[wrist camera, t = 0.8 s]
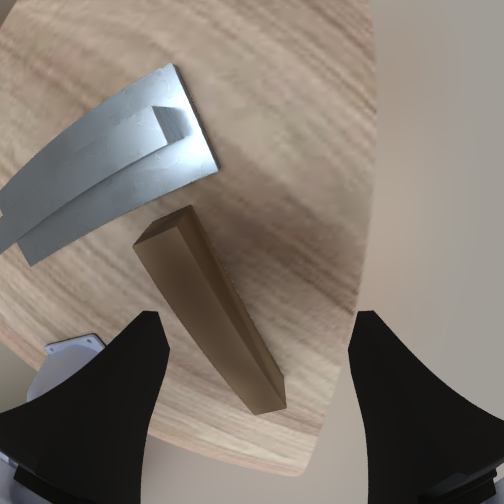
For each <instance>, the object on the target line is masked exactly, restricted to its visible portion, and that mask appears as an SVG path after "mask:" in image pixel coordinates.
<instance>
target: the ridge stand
mask: <svg viewBox="0 0 504 504" xmlns="http://www.w3.org/2000/svg"><path fill="white" fill-rule="evenodd" d="M220 168H221V167H220V165H219V162H218V160H217V158H216V155H215V153H214V151H213V148H212V146H211V144H210V141H209V139H208V137H207V134H206V132H205V130H204V127H203V125H202V123H201V120H200V118H199V116H198V113H197V111H196V109H195V106H194V104H193V102H192V100H191V97H190V95H189V93H188V90H187V88H186V86H185V83H184V81H183V79H182V76H181V74H180V72H179V70H178V67H177V66H176V65H174V64H173V63H170V64H168V65H166V66H164V67H162V68H160V69H158V70H157V71H155V72H153V73H151V74H149V75H147V76H145V77H144V78H142V79H140V80H138V81H136V82H135V83H133V84H131V85H130V86H128V87H126V88H125V89H123V90H121V91H120V92H118V93H116V94H115V95H113V96H112V97H110V98H109V99H107V100H106V101H104V102H103V103H101V104H100V105H98V106H97V107H95V108H94V109H92V110H91V111H90V112H88V113H87V114H85V115H84V116H83V117H81V118H80V119H79V120H77V121H76V122H75V123H73V124H72V125H71V126H69V127H68V128H67V129H66V130H64V131H63V132H62V133H61V134H59V135H58V136H57V137H56V138H55V139H53V140H52V141H51V142H50V143H49V144H47V145H46V146H45V147H44V148H43V149H42V150H41V151H40V152H38V153H37V154H36V155H35V156H34V157H33V158H32V159H31V160H30V161H29V162H28V163H27V164H26V165H25V166H24V167H22V168H21V169H20V170H19V171H18V172H17V173H16V174H15V176H14V177H13V178H12V179H11V180H10V181H9V182H8V183H7V184H6V185H5V186H4V187H3V188H2V189H1V190H0V209H1V211H2V214H3V216H2V217H1V218H0V254H2V253H3V252H4V251H5V250H7V249H8V248H9V247H11V246H12V245H13V244H14V243H16V242H17V244H18V246H19V247H20V249H21V251H22V253H23V255H24V256H25V258H26V260H27V262H28V263H29V265H30V267H31V266H33V265H34V264H36V263H38V262H39V261H41V260H42V259H44V258H46V257H47V256H49V255H51V254H52V253H54V252H56V251H57V250H59V249H61V248H62V247H64V246H66V245H67V244H69V243H71V242H73V241H74V240H76V239H78V238H80V237H81V236H83V235H85V234H87V233H89V232H90V231H92V230H94V229H96V228H98V227H100V226H102V225H103V224H105V223H107V222H109V221H111V220H113V219H115V218H117V217H119V216H121V215H123V214H125V213H127V212H129V211H131V210H133V209H135V208H137V207H139V206H141V205H143V204H145V203H147V202H149V201H151V200H153V199H155V198H158V197H160V196H162V195H164V194H166V193H168V192H171V191H173V190H175V189H177V188H179V187H182V186H184V185H186V184H189V183H191V182H193V181H195V180H198V179H200V178H203V177H205V176H207V175H210V174H212V173H215V172H217V171H219V169H220Z"/></svg>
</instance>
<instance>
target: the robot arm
mask: <svg viewBox="0 0 504 504" xmlns="http://www.w3.org/2000/svg"><path fill="white" fill-rule="evenodd" d="M44 349H45V351H46V352H47V353H48V354H49V355H48V357H47V359H46V360H45V362H44V363H43V365H42V367H41V368H40V370H39V372H38V374H37V375H36V377H35V379H34V381H33V382H32V384H31V386H30V388H29V390H28V393H27V403H25V404H23V405H21V406H18V407H16V408H13V409H11V410H8V411H5V412H3V413H0V504H140V503H141V502H140V501H141V499H140V498H141V497H140V496H141V475H142V463H143V456H144V448H145V442H146V436H147V431H148V426H149V422H150V419H151V415H152V412H153V409H154V406H155V403H156V400H157V397H158V394H159V391H160V388H161V385H162V382H163V379H164V375H165V372H166V368H167V363H168V357H169V352H170V347H169V344H168V342H167V339H166V336H165V333H164V329H163V326H162V323H161V320H160V317H159V314H158V312H155V311H143V312H141V313H140V314H139V315H138V316H137V317H136V318H135V319H134V320H133V321H132V322H131V323H130V324H129V325H128V326H127V327H126V328H125V329H124V330H123V331H122V332H121V333H120V334H119V335H118V336H116V337H115V338H114V339H113V340H112V341H111V342H110V343H109V344H108V345H107V346H106V347H105V346H104V345H103V344H102V343H101V341H100V340H99V339H98V338H97V337H96V336H95V335H93V334H90V335H87V336H83V337H79V338H75V339H71V340H67V341H62V342H58V343H54V344H50V345H46V346H45V348H44ZM348 354H349V362H350V369H351V375H352V379H353V383H354V387H355V390H356V394H357V398H358V402H359V406H360V410H361V414H362V418H363V423H364V428H365V434H366V443H367V456H368V504H504V478H502V479H500V480H499V481H498V482H495V483H494V481H493V478H494V477H496V476H497V472H496V467H498V466H499V465H501V464H502V463H504V420H501V419H499V418H497V417H495V416H493V415H491V414H489V413H488V412H486V411H484V410H482V409H481V408H479V407H477V406H476V405H474V404H472V403H471V402H469V401H468V400H466V399H465V398H464V397H462V396H461V395H459V394H458V393H457V392H455V391H454V390H452V389H451V388H450V387H449V386H447V385H446V384H445V383H444V382H443V381H441V380H440V379H439V378H438V377H437V376H436V375H434V374H433V373H432V372H431V371H430V370H429V369H428V368H427V367H426V366H425V365H424V364H423V363H422V362H421V361H420V360H419V359H417V357H416V356H415V355H414V354H413V353H412V352H411V351H410V350H409V349H408V348H407V347H406V346H405V345H404V344H403V343H402V342H401V341H400V339H398V337H397V336H396V335H395V334H394V333H393V332H392V330H391V329H390V328H389V327H388V326H387V325H386V324H385V323H384V321H383V320H382V319H381V318H380V317H379V316H378V315H377V314H376V313H375V312H374V311H373V310H372V311H358V313H357V317H356V321H355V325H354V329H353V333H352V337H351V340H350V344H349V347H348Z"/></svg>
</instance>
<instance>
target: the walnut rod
mask: <svg viewBox="0 0 504 504" xmlns="http://www.w3.org/2000/svg"><path fill="white" fill-rule="evenodd" d="M132 247H133V249H134V250H135V252H136V254H137V255H138V257H139V259H140V260H141V262H142V264H143V265H144V267H145V268H146V270H147V272H148V273H149V275H150V276H151V278H152V280H153V281H154V283H155V284H156V286H157V287H158V289H159V290H160V292H161V293H162V295H163V296H164V298H165V299H166V301H167V302H168V304H169V305H170V307H171V308H172V310H173V311H174V313H175V314H176V316H177V317H178V318H179V320H180V321H181V323H182V324H183V326H184V327H185V328H186V330H187V331H188V333H189V334H190V335H191V337H192V338H193V339H194V341H195V342H196V343H197V345H198V346H199V348H200V349H201V350H202V351H203V353H204V354H205V355H206V357H207V358H208V359H209V361H210V362H211V363H212V365H213V366H214V367H215V368H216V370H217V371H218V372H219V373H220V375H221V376H222V377H223V378H224V380H225V381H226V382H227V383H228V385H229V386H230V387H231V388H232V389H233V391H234V392H235V393H236V394H237V395H238V397H239V398H240V399H241V400H242V401H243V403H244V404H245V405H246V406H247V407H248V408H249V410H250V411H251V412H252V413H253V414H254V415H258V414H263V413H268V412H273V411H277V410H282V409H286V408H287V407H286V396H285V386H284V376H283V375H282V373H281V371H280V370H279V368H278V366H277V364H276V363H275V361H274V359H273V357H272V356H271V354H270V352H269V350H268V348H267V347H266V345H265V343H264V341H263V340H262V338H261V336H260V334H259V332H258V331H257V329H256V327H255V325H254V323H253V322H252V320H251V318H250V316H249V314H248V312H247V311H246V309H245V307H244V305H243V303H242V301H241V300H240V298H239V296H238V294H237V292H236V290H235V289H234V287H233V285H232V283H231V281H230V279H229V277H228V275H227V274H226V272H225V270H224V268H223V266H222V264H221V262H220V260H219V258H218V256H217V255H216V253H215V251H214V249H213V247H212V245H211V243H210V241H209V239H208V237H207V235H206V233H205V231H204V229H203V227H202V226H201V224H200V222H199V220H198V218H197V216H196V214H195V212H194V210H193V208H192V206H191V205H189V206H186V207H184V208H182V209H180V210H177V211H175V212H173V213H171V214H169V215H167V216H164V217H162V218H160V219H158V220H156V221H154V222H152V223H151V224H150V226H149V227H148V228H147V229H146V230H145V231H144V233H143V234H142V235H141V236H140V237H139V239H138V240H137V241H136V242H135V244H134V245H133V246H132Z"/></svg>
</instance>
